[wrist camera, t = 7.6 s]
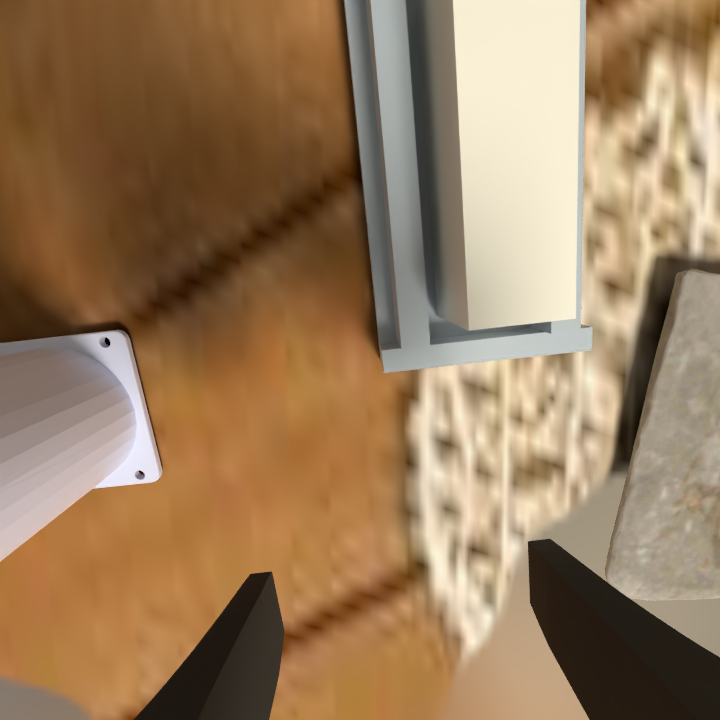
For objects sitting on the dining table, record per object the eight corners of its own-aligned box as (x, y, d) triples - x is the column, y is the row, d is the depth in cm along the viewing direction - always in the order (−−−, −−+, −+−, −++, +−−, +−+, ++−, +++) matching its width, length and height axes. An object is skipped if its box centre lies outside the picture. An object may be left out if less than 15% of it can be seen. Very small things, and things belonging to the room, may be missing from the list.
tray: (380, 360, 18) (384, 375, 16) (341, -20, 15) (337, -92, 12) (560, 340, 18) (599, 352, 15) (562, -48, 15) (613, -129, 12)
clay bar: (512, 307, 17) (576, 318, 12) (437, 315, 17) (469, 330, 12) (506, -1, 14) (582, -144, 10) (416, 10, 14) (446, -127, 10)
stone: (776, 598, 21) (613, 621, 20) (722, 558, 24) (577, 577, 23) (902, 264, 16) (691, 272, 15) (816, 263, 18) (632, 269, 17)
